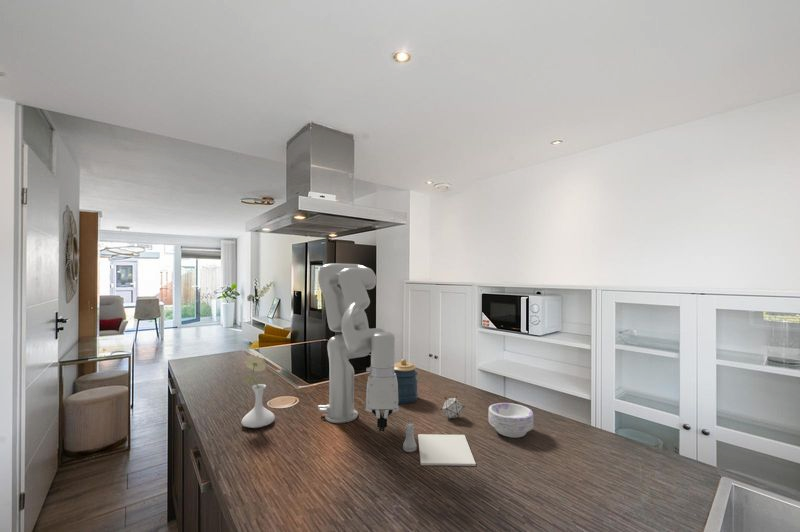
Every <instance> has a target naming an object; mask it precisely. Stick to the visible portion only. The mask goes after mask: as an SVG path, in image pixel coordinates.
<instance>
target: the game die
mask: <svg viewBox="0 0 800 532" xmlns="http://www.w3.org/2000/svg"><path fill="white" fill-rule="evenodd" d="M457 397H458V396H457V395H455V397H449V398H447V397H446V396H444V399H445V400H444V403H443V405H442V407H441V408H439V410H440V411H441V410H442V411H443V413H444V414H445V416H447V421H450V419H457V418H458V419H459V420H461V415H462V411H463V409H464V408H465V407H466V406H465V405H463V404H462V403H461V402H460V401H459V399H458V398H457Z"/></svg>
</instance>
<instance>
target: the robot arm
mask: <svg viewBox="0 0 800 532" xmlns="http://www.w3.org/2000/svg"><path fill="white" fill-rule="evenodd" d="M376 276H377V275H376V274H375V272H374V271H373V269H372V268H370V267H367V266H364V265H362V264H358V263H338V262H337V263H336V262H335V263H334V262H333V263H327V264H326V263H325V264H323V265H321V267H320V268H319V270H318V278H317V279H318V285H319V289H320V291H321V293H322V295H323V296H322V297H323V299H324V304H325V305H324V306H325V313H326V319H327V321H326V322H327V324H328V328H329V330H330V331H331V332H336V333H338V332H339V333H340V332H341V333H342V334H337V335H334V336H332V337H330V338H329V340H328V341H327V345H326V348H327V356H328V363H329V364H328V365H329V366H328V367H329V373H328V374H329V375H328V377H329V380H328V381H329V382H328V384H329V386H328V388H329V389H328V391H329V393H328V395H329V396H328V397H329V398H328V404H326V405H325V404H324V405H323V404H319V405H318V406H317V411H319V413H325V414H324V419H325V420H326V421H327V422H329V423H333V424H345V423H346V422H347V423H350V422H353V421H355V420H356V419H357V418H358V416H359V414H358V413H359V412H358V411H357V410H356V409H355V369H354V367H353V365H352V364H351V362H350V361H349V360H351V359H356V358H364V357H367V356H368V355H370V366H369V367H366V368H365V369H366V371H365V372H367V373H369V375H368V377H367V382H366V393H365V408H364V409H365V411H366V412H369V413H372V414H373V415H374V416H376V421H377V423H376V425H377V427H376V428H379V429H378V430H379V432H385V429H386V428H388V417H389V416H390V415H391V414H393V413H396V412H399V411H400V406H399V403H398V382H397V376H396V375H395V374H394V364H395V360H396V359H395V358H396V357H395V352H396V347H395V346H396V345H395V344H396V337H395V334H394V333H392V332H390V331H385V329H382V328H379V327H374V328H370V327H369V321H368V316H367V313H366V311H365V310H366V309H367V308H368V307H369V306H370V304H371V300H370V297H369V294H368V290H373V289H374V288H375V287H376V284H377V277H376ZM338 285H340V287H339V286H338ZM381 411H384V413H383V414H382V413H381Z"/></svg>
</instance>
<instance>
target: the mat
mask: <svg viewBox="0 0 800 532" xmlns="http://www.w3.org/2000/svg"><path fill="white" fill-rule="evenodd" d="M417 440H418V449H419V461H420V466H455V467H456V466H460V467H461V466H464V467H465V466H466V467H473V466H474V467H476V464H477V463H476V461H475V458H474V455H473V453H472V451H471V448H470V445H469V443H468V440H467V438H466V435H465V434H437V433H436V434H432V433H431V434H430V433H429V434H426V433H421V434H417Z"/></svg>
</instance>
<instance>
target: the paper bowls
mask: <svg viewBox="0 0 800 532" xmlns="http://www.w3.org/2000/svg"><path fill="white" fill-rule="evenodd" d="M488 423H489V424H490V425H491V426H492V427H494V429H495V431H496V432H497V433H498V434H500V435H501V436H504V437H507V438H511V439H512V438H514V439H516V438H522V437H525V436H526V435H527V433H528V432H530V431H532V430H533V429H534V411H532V409H531V408H529V407H527V406H524V405H522V404H516V403H511V402H500V403H499V402H498V403H493V404H491V405H489V407H488Z"/></svg>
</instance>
